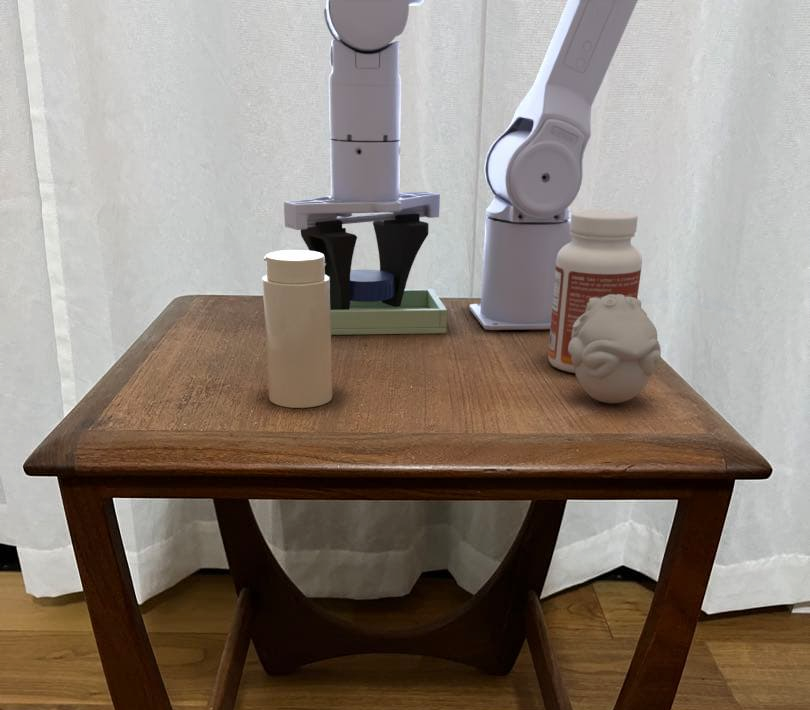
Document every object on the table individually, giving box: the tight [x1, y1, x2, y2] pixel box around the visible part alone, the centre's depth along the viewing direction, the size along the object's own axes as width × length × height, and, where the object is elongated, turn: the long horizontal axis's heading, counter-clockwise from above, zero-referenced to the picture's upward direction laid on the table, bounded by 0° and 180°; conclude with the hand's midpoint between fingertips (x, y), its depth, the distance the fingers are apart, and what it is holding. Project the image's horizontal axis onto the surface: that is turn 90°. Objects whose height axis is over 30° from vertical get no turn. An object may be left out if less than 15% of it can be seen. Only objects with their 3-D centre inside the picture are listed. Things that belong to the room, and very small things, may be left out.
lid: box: [350, 269, 395, 302], centre depth 76 cm, size 5×5×2 cm
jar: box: [261, 249, 333, 409], centre depth 57 cm, size 4×4×9 cm
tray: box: [330, 288, 448, 336], centre depth 77 cm, size 13×8×2 cm, turn 97°
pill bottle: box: [547, 209, 643, 374], centre depth 65 cm, size 6×6×11 cm
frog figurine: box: [568, 294, 662, 404], centre depth 59 cm, size 6×7×7 cm
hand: (365, 308), depth 77 cm, fingers closed on lid, 5 cm apart
